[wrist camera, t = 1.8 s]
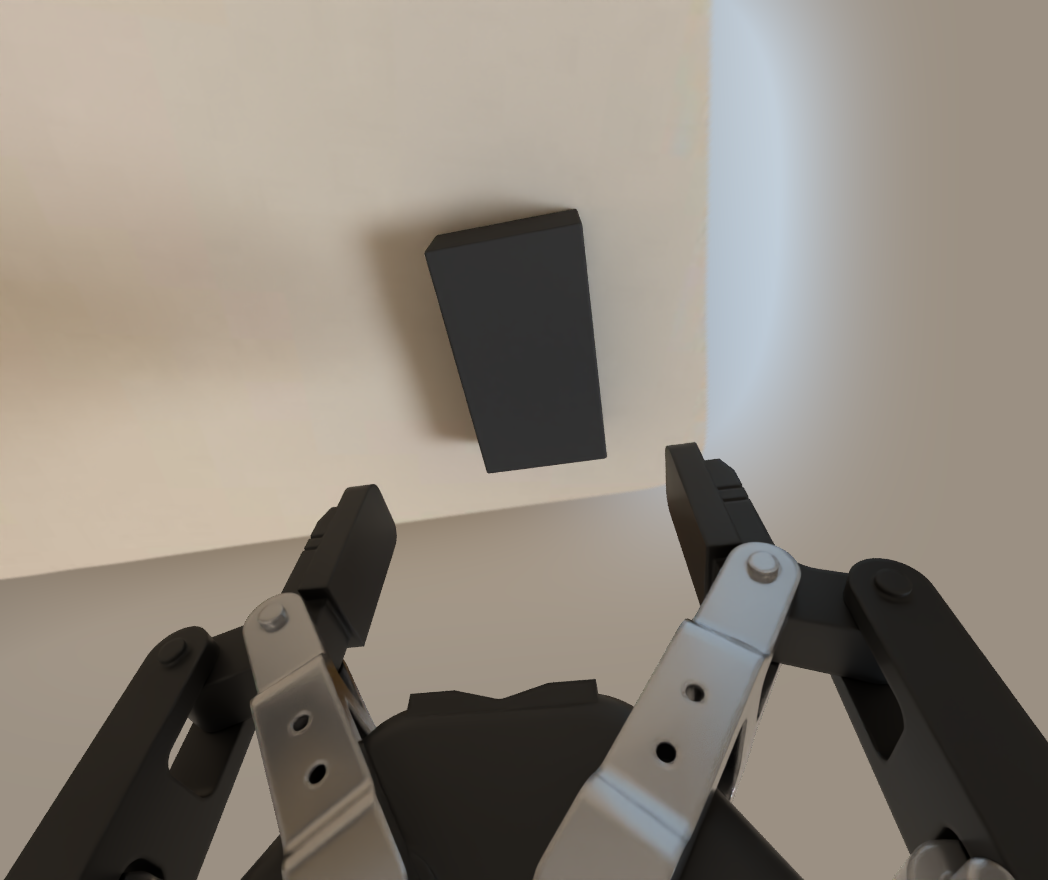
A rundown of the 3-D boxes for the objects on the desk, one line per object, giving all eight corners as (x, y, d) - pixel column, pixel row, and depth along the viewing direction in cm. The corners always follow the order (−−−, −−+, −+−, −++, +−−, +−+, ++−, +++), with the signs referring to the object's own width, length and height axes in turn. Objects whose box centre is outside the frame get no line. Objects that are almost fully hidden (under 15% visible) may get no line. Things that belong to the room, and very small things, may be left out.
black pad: (435, 235, 19) (423, 252, 17) (576, 207, 18) (582, 222, 16) (491, 442, 25) (487, 474, 23) (601, 427, 24) (607, 459, 22)
